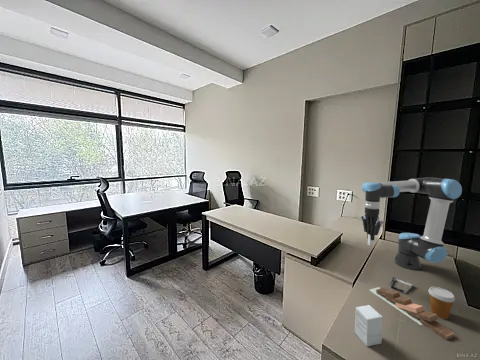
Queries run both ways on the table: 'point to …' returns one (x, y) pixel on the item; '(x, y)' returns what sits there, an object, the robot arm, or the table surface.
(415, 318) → the runner
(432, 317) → the domino
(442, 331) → the domino
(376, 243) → the table surface
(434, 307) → the disposable coffee cup
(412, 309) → the domino
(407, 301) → the domino
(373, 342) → the supplement box
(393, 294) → the domino
